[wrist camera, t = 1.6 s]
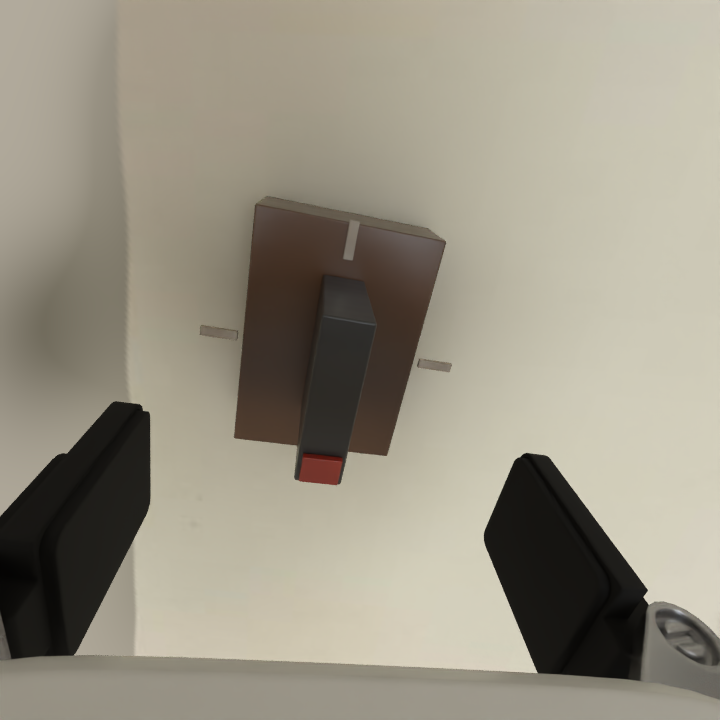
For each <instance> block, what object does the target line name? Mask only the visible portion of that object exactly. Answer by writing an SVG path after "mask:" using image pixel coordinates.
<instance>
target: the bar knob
mask: <svg viewBox="0 0 720 720" xmlns="http://www.w3.org/2000/svg"><path fill="white" fill-rule="evenodd" d="M376 327H377V324H376V320H375V317H374V313H373V310H372V306H371V303H370V300H369V296H368V293H367V290H366V286H365V283H364V282H363V281H357V280H352V279H346V278H340V277H335V276H329V275H323V278H322V284H321V290H320V296H319V303H318V309H317V315H316V321H315V327H314V333H313V339H312V345H311V351H310V357H309V363H308V370H307V376H306V382H305V388H304V394H303V400H302V406H301V415H300V425H299V435H298V445H297V455H296V465H295V475H294V478H295V480H299V481H302V482H311V483H321V484H330V485H337V484H340V483H341V480H342V475H343V471H344V467H345V462H346V458H347V453H348V449H349V445H350V440H351V436H352V432H353V427H354V423H355V418H356V414H357V410H358V405H359V401H360V397H361V392H362V388H363V384H364V379H365V375H366V370H367V366H368V362H369V357H370V353H371V349H372V344H373V340H374V335H375V331H376Z"/></svg>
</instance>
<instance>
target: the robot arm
mask: <svg viewBox="0 0 720 720" xmlns="http://www.w3.org/2000/svg"><path fill="white" fill-rule="evenodd" d="M149 505H150V414H149V412H147V411H143V408H142V406H141V405H140V404H132V403H124V402H117V401H116V402H113V403H112V404H111V405H110V406H109V407H108V408H107V409H106V410H105V412H103V414H102V415H101V416H100V417H99V418H98V419H97V420H96V422H95V423H94V424H93V425H92V426H91V427H90V429H88V431H87V432H86V433H85V434H84V435H83V436H82V437H81V439H80V440H79V441H78V442H77V443H76V444H75V445H74V446H73V448H72V449H71V450H70V451H69V452H68V453H67V454H64V453H63V454H59V455H57V456H56V457H55V458H54V459H52V460H51V462H50V463H49V464H48V465H47V466H46V467H45V468H44V469H43V470H42V471H41V473H40V474H39V475H38V476H37V477H36V478H35V479H34V480H33V481H32V482H31V484H30V485H29V486H28V487H27V488H26V489H25V490H24V491H23V492H22V493H21V494H20V495H19V497H18V498H17V499H16V500H15V501H14V502H13V503H12V504H11V505H10V506H9V508H8V509H7V510H6V511H5V512H4V513H3V514H2V515H1V516H0V720H720V639H719V638H718V637H717V636H716V634H715V633H714V632H713V631H712V630H711V629H710V628H709V627H708V626H707V625H706V624H704V623H703V622H702V621H701V620H700V619H699V618H697V617H696V616H694V615H693V614H691V613H690V612H688V611H687V610H685V609H682V608H680V607H678V606H676V605H674V604H670V603H667V602H654V603H652V604H650V605H648V603H647V602H646V601H645V599H644V598H643V597H644V595H645V594H646V592H647V591H648V590H647V588H646V587H645V586H644V584H643V583H642V582H641V580H640V579H639V578H638V576H637V575H636V573H635V572H634V571H633V569H632V568H631V567H630V565H629V564H628V563H627V561H626V560H625V559H624V557H623V556H622V555H621V553H620V552H619V551H618V549H617V548H616V547H615V545H614V544H613V543H612V541H611V540H610V539H609V537H608V536H607V535H606V533H605V532H604V531H603V529H602V528H601V526H600V525H599V524H598V522H597V521H596V520H595V518H594V517H593V516H592V514H591V513H590V512H589V510H588V509H587V508H586V506H585V505H584V504H583V502H582V501H581V500H580V498H579V497H578V496H577V494H576V493H575V492H574V490H573V489H572V488H571V486H570V485H569V483H568V482H567V481H566V479H565V478H564V477H563V475H562V474H561V473H560V471H559V470H558V469H557V467H556V466H555V465H554V463H553V462H552V461H551V459H550V458H549V457H548V456H545V455H538V454H530V453H525V454H523V455H522V456H521V458H517V459H516V460H515V461H514V463H513V466H512V468H511V470H510V473H509V475H508V477H507V480H506V482H505V484H504V487H503V489H502V491H501V494H500V496H499V498H498V501H497V503H496V506H495V508H494V510H493V513H492V515H491V517H490V520H489V522H488V524H487V527H486V529H485V532H484V542H485V546H486V548H487V551H488V553H489V556H490V558H491V561H492V563H493V565H494V568H495V570H496V573H497V575H498V578H499V580H500V583H501V585H502V587H503V590H504V592H505V595H506V597H507V600H508V602H509V604H510V607H511V609H512V612H513V614H514V617H515V619H516V622H517V624H518V626H519V629H520V631H521V634H522V636H523V639H524V641H525V644H526V646H527V648H528V651H529V653H530V656H531V658H532V661H533V663H534V666H535V668H536V670H537V672H538V673H521V672H502V671H483V670H463V669H443V668H422V667H400V666H379V665H356V664H334V663H312V662H287V661H262V660H237V659H212V658H187V657H147V656H102V655H101V656H99V655H98V656H97V655H79V656H73V655H74V654H75V653H76V651H77V649H78V648H79V646H80V644H81V642H82V639H83V638H84V636H85V634H86V632H87V630H88V628H89V626H90V624H91V622H92V620H93V618H94V616H95V614H96V612H97V610H98V608H99V607H100V605H101V602H102V601H103V599H104V597H105V595H106V593H107V591H108V589H109V587H110V585H111V583H112V581H113V579H114V577H115V575H116V573H117V571H118V569H119V567H120V565H121V563H122V561H123V559H124V557H125V555H126V553H127V551H128V549H129V548H130V546H131V544H132V542H133V540H134V538H135V536H136V534H137V532H138V530H139V528H140V526H141V524H142V522H143V520H144V518H145V516H146V514H147V512H148V509H149Z"/></svg>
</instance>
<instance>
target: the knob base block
mask: <svg viewBox="0 0 720 720" xmlns="http://www.w3.org/2000/svg"><path fill="white" fill-rule="evenodd" d="M445 245H446V241H444V240H443V239H442V238H440V237H439V236H438V235H436V234H435V233H434V232H432V231H431V230H430V229H428V228H423V227H418V226H413V225H408V224H403V223H398V222H393V221H388V220H383V219H378V218H373V217H368V216H363V215H358V214H353V213H348V212H343V211H338V210H333V209H328V208H323V207H318V206H313V205H308V204H303V203H298V202H293V201H288V200H283V199H278V198H273V197H268V196H267V197H265V198H264V199H262V200H261V201H259V202H258V203H257V204H256V205H255V212H254V223H253V234H252V245H251V256H250V268H249V279H248V290H247V301H246V312H245V323H244V334H243V345H242V356H241V367H240V378H239V389H238V400H237V411H236V422H235V433H234V438H237V439H245V440H254V441H262V442H271V443H279V444H288V445H298V435H299V425H300V415H301V406H302V400H303V394H304V388H305V382H306V376H307V370H308V363H309V357H310V351H311V345H312V339H313V333H314V327H315V321H316V315H317V309H318V303H319V296H320V290H321V284H322V278H323V275H329V276H335V277H340V278H346V279H352V280H357V281H363V282H364V283H365V286H366V290H367V293H368V296H369V300H370V303H371V306H372V310H373V313H374V317H375V320H376V324H377V327H376V331H375V335H374V340H373V344H372V349H371V353H370V357H369V362H368V366H367V370H366V375H365V379H364V384H363V388H362V392H361V397H360V401H359V405H358V410H357V414H356V418H355V423H354V427H353V432H352V436H351V440H350V445H349V449H348V452H356V453H365V454H374V455H382V456H387V454H388V450H389V447H390V443H391V439H392V436H393V432H394V429H395V425H396V421H397V418H398V414H399V411H400V407H401V403H402V400H403V396H404V392H405V389H406V385H407V382H408V378H409V374H410V371H411V367H412V364H413V360H414V356H415V353H416V349H417V346H418V342H419V338H420V335H421V331H422V328H423V324H424V320H425V317H426V313H427V310H428V306H429V302H430V299H431V295H432V292H433V288H434V284H435V281H436V277H437V273H438V270H439V266H440V263H441V259H442V255H443V252H444V248H445ZM200 335H205V336H211V337H218V338H225V339H231V340H237V339H238V331H237V330H230V329H223V328H217V327H210V326H204V325H201V327H200ZM417 366H418V368H425V369H431V370H438V371H445V372H450V369H451V366H452V364H451V363H445V362H439V361H432V360H426V359H419V361H418V365H417Z"/></svg>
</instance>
